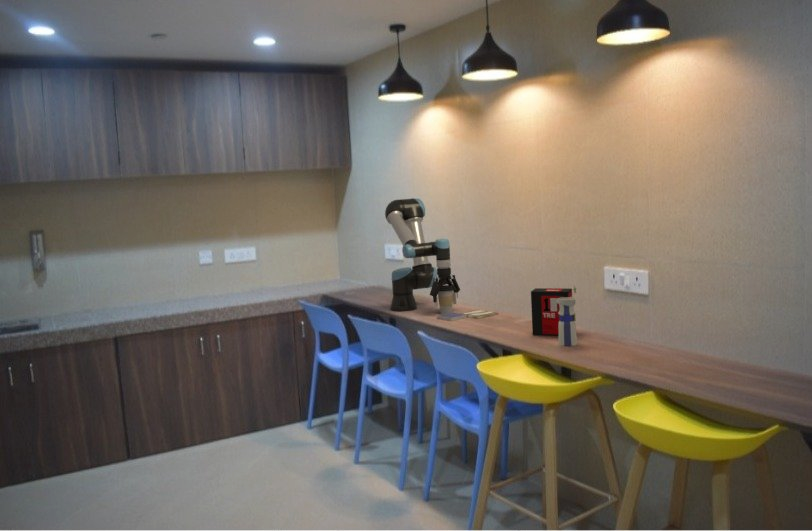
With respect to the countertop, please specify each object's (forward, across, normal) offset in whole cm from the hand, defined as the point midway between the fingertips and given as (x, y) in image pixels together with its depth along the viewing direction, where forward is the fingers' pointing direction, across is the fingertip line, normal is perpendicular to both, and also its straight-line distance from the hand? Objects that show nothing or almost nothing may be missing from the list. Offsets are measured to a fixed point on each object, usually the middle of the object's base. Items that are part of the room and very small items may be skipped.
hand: (446, 306), depth 376 cm
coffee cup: (+4, 0, 0) cm, 4 cm away
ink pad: (+4, -7, -12) cm, 14 cm away
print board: (+4, +7, -18) cm, 19 cm away
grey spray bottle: (+5, -18, -95) cm, 97 cm away
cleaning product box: (+5, -6, -78) cm, 78 cm away
